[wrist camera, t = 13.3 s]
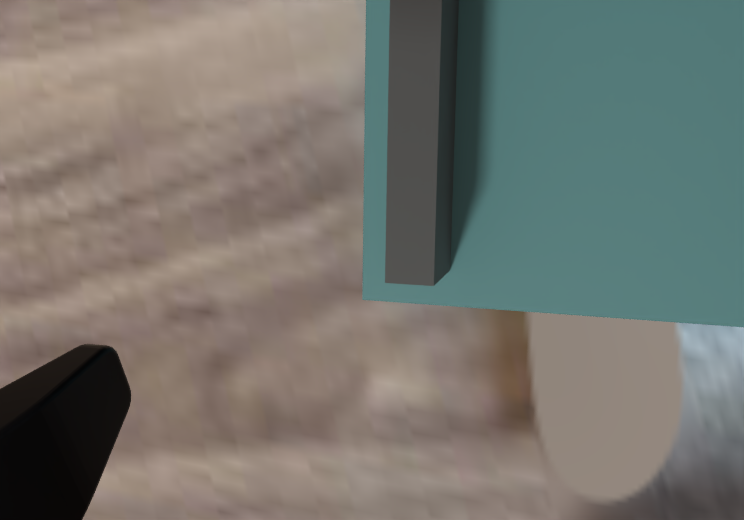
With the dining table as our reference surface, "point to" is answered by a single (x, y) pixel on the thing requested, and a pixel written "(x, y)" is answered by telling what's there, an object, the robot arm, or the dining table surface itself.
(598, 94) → the dock plate
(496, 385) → the dining table surface
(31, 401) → the robot arm
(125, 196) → the dining table surface
